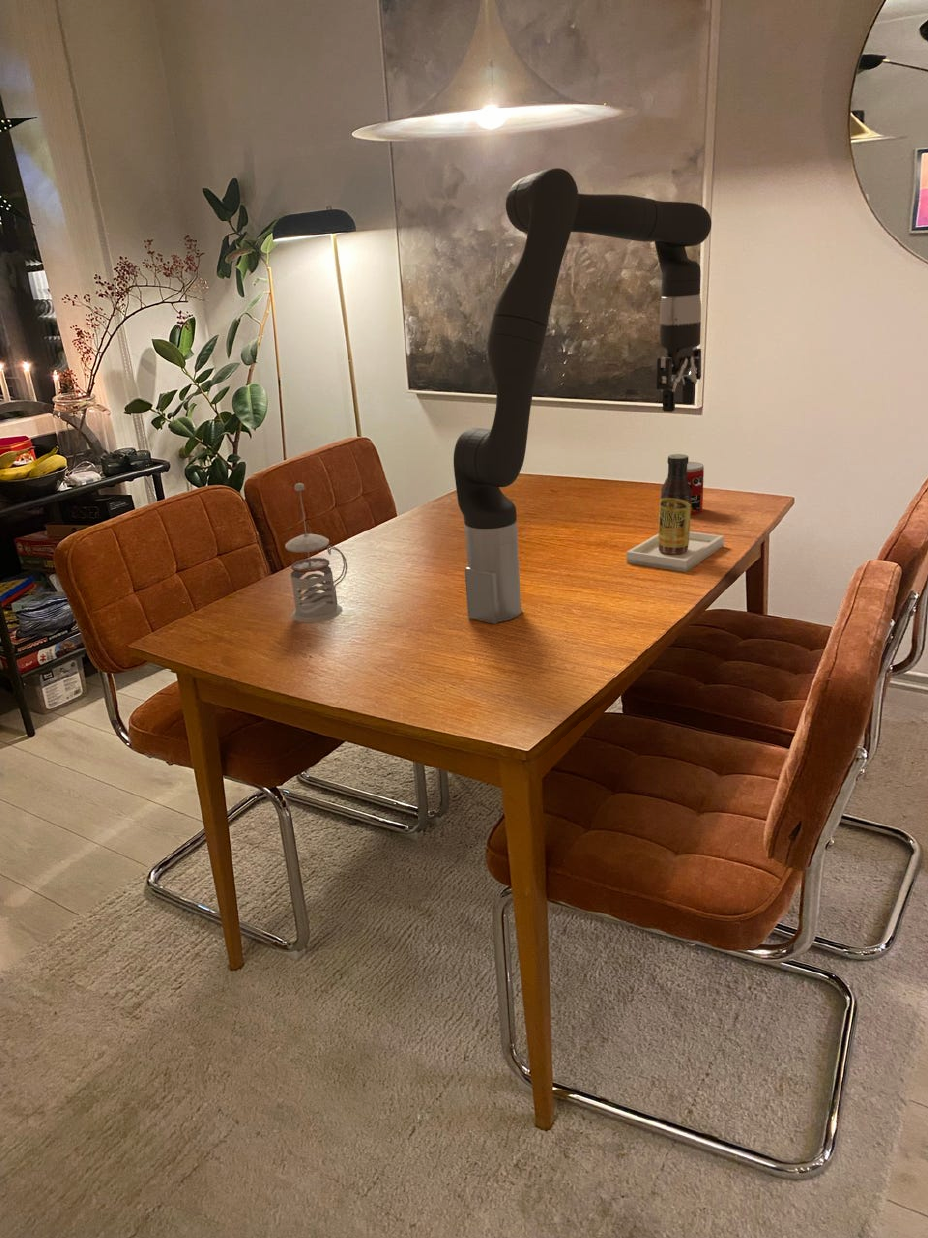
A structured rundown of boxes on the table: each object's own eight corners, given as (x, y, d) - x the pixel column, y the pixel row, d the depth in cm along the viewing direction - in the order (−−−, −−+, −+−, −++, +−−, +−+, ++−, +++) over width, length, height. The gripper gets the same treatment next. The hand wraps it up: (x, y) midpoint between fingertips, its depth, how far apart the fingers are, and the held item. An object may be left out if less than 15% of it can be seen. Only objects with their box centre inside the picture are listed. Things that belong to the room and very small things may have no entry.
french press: (286, 609, 178) (266, 481, 169) (345, 597, 182) (329, 472, 172) (296, 626, 170) (276, 493, 160) (357, 614, 173) (341, 483, 164)
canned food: (667, 515, 218) (668, 469, 214) (670, 506, 225) (671, 461, 221) (701, 516, 216) (702, 469, 212) (703, 506, 223) (704, 461, 219)
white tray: (685, 572, 182) (686, 561, 181) (626, 562, 189) (626, 551, 189) (723, 546, 195) (724, 535, 194) (666, 538, 202) (666, 528, 201)
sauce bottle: (654, 554, 191) (654, 458, 183) (663, 545, 196) (664, 451, 188) (685, 557, 187) (687, 459, 180) (694, 547, 192) (696, 452, 185)
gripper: (682, 324, 167) (680, 415, 174) (715, 316, 178) (712, 402, 184) (644, 324, 172) (644, 413, 178) (678, 316, 182) (677, 400, 188)
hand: (678, 407), depth 181 cm, fingers open, 8 cm apart
